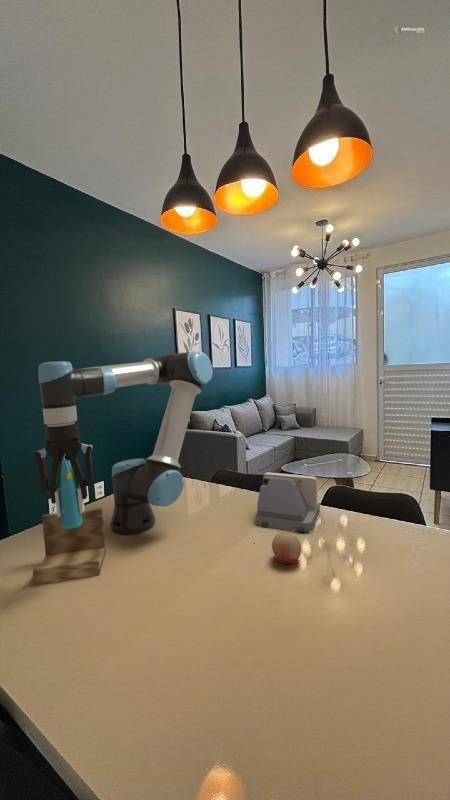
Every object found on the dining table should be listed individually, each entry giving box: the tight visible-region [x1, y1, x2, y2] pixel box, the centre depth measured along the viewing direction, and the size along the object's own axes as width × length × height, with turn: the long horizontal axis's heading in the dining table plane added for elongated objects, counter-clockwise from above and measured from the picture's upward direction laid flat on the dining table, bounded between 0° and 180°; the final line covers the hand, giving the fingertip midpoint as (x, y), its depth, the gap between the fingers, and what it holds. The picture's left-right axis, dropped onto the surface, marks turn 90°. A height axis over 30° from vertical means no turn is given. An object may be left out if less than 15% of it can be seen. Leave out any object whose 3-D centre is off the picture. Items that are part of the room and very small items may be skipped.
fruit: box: [271, 530, 302, 565], centre depth 93 cm, size 8×8×8 cm
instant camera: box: [255, 471, 321, 533], centre depth 119 cm, size 21×21×15 cm
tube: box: [59, 454, 82, 529], centre depth 87 cm, size 7×5×19 cm, turn 29°
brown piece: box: [32, 507, 107, 586], centre depth 94 cm, size 16×12×14 cm
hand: (71, 512), depth 88 cm, fingers closed on tube, 5 cm apart
